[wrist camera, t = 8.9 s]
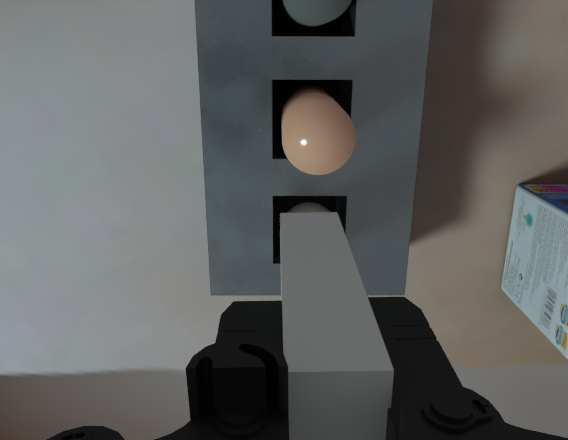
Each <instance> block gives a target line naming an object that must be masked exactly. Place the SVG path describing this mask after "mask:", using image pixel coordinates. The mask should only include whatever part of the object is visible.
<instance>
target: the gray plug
mask: <svg viewBox="0 0 568 440" xmlns="http://www.w3.org/2000/svg"><path fill="white" fill-rule="evenodd" d="M351 1H352V0H282V7H283V10H284V12H285V14H286V16H287V18H288V19H289V20H290V21H291V22H292V23H294V24H295V25H297V26H299V27H302V28H315V27H318V26H320V25H323V24H325V23H327V22H330V21H332V20H334V19H336V18H337V17H339V16H340V15H341V14H342V13H343V12H344V11H345V10H346V9H347V8H348V6H349V5H350V3H351Z"/></svg>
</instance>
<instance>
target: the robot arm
mask: <svg viewBox="0 0 568 440" xmlns="http://www.w3.org/2000/svg"><path fill="white" fill-rule="evenodd" d="M280 250H281V301H234V302H233V303H232V304H231V305H230V306H229V307H228V308H227V309H226V310H225V311H224V312H223V313H222V314H221V318H220V323H219V328H218V334H217V338H216V343H215V344H212V345H209V346H207V347H205V348H204V349H202V350H201V351H199V352H198V353H197V354H195V355H194V356H193V357H192V359H191V360H190V362H189V364H188V366H187V367H186V375H187V386H188V397H189V407H190V418H191V420H190V421H189V422H188V423H187V424H186V425H185V426H184V427H182V428H180V429H178V430H177V431H175V432H173V433H171V434H169V435H166V436H164V437H161V438H158V439H155V440H568V438H564V437H560V436H555V435H550V434H546V433H541V432H536V431H531V430H527V429H523V428H520V427H516V426H513V425H510V424H508V423H505V422H504V420H503V419H502V417H501V415H500V414H499V412H498V411H497V410H496V409H495V408H494V406H493V405H492V404H491V403H490V402H489V401H488V400H487V399H485V398H484V397H482V396H481V395H479V394H477V393H476V392H474V391H473V390H470V389H467V388H464V387H463V386H462V385H461V382H460V380H459V379H458V377H457V375H456V373H455V371H454V369H453V367H452V366H451V364H450V362H449V360H448V358H447V356H446V355H445V353H444V351H443V349H442V347H441V345H440V343H439V342H438V341H437V340H436V336H435V334H434V332H433V331H432V329H431V328H430V327H429V323H428V321H427V319H426V318H425V316H424V314H423V312H422V310H421V309H420V308H418V307H417V306H416V305H414V304H413V303H412V302H410V301H409V300H408V299H406V298H405V297H367V294H366V291H365V288H364V286H363V283H362V280H361V277H360V274H359V272H358V269H357V266H356V263H355V260H354V258H353V255H352V252H351V249H350V247H349V244H348V241H347V238H346V235H345V233H344V230H343V227H342V224H341V222H340V219H339V216H338V213H337V212H316V213H280ZM47 440H124V438H123V437H122V436H121V435H120V434H119V433H118V432H117V431H114V430H111V429H109V428H106V427H104V426H82V427H79V428H74V429H71V430H67V431H63V432H61V433H59V434H57V435H55V436H53V437H51V438H49V439H47Z"/></svg>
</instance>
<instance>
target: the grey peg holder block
mask: <svg viewBox="0 0 568 440" xmlns="http://www.w3.org/2000/svg"><path fill="white" fill-rule="evenodd" d="M432 8H433V0H352V1H351V3H350V5H349V6H348V8H347V9H346V10H345V11H344V12H343V13H342V33H341V37H317V36H273V0H195V16H196V35H197V53H198V71H199V89H200V108H201V126H202V144H203V163H204V181H205V199H206V218H207V236H208V254H209V272H210V291H211V295H281V250H280V228H274V196H335V209H334V212H337V213H338V216H339V219H340V222H341V224H342V227H343V230H344V233H345V235H346V238H347V241H348V244H349V247H350V249H351V252H352V255H353V258H354V260H355V263H356V266H357V269H358V272H359V274H360V277H361V280H362V283H363V286H364V288H365V291H366V294H367V295H405V285H406V275H407V265H408V254H409V244H410V234H411V224H412V213H413V203H414V193H415V182H416V172H417V162H418V152H419V141H420V131H421V121H422V110H423V100H424V90H425V80H426V69H427V59H428V49H429V38H430V28H431V18H432ZM273 80H340V83H339V105H340V106H341V108H342V109H343V110H344V111H345V112H346V113H347V114H348V115H349V117H350V118H351V120H352V122H353V124H354V128H355V133H356V142H355V147H354V150H353V153H352V155H351V156H350V158H349V159H348V161H347V162H346V163H345V164H344V165H343V166H342V167H340V168H339V169H337V170H336V171H334V172H331V173H328V174H324V175H312V174H308V173H305V172H303V171H300V170H299V169H297V168H296V167H295V166H294V165H292V163H291V162H290V161H289V160H288V158H287V157H286V155H285V152H284V150H283V145H282V139H274V88H273Z"/></svg>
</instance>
